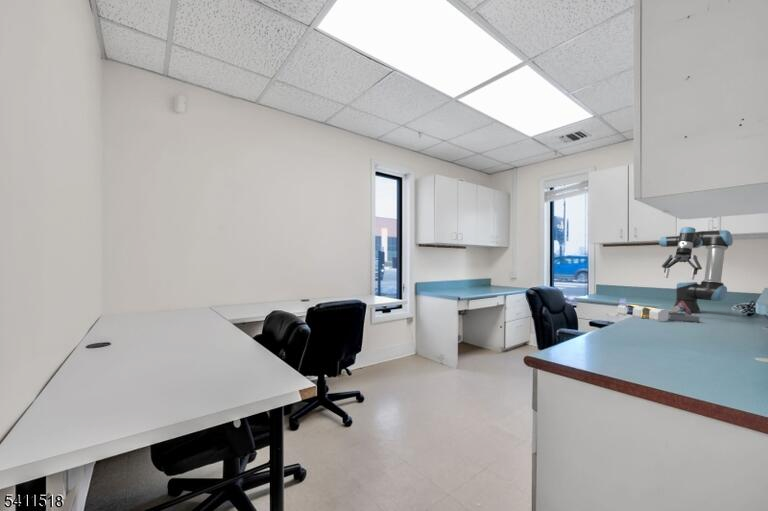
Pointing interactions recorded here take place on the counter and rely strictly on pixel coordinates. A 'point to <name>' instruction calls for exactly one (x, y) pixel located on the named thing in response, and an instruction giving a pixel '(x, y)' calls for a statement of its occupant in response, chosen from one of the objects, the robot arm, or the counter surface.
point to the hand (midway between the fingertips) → (678, 278)
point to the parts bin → (683, 317)
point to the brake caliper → (681, 308)
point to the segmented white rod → (643, 311)
